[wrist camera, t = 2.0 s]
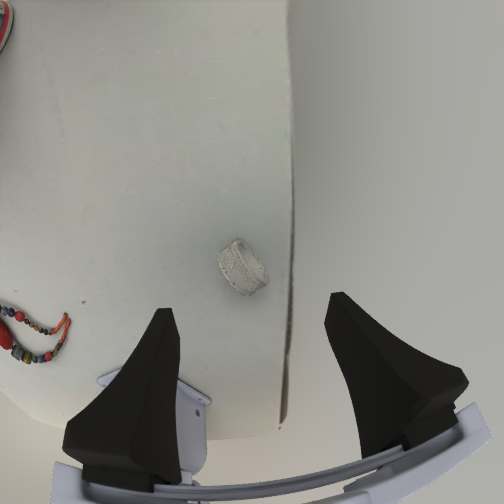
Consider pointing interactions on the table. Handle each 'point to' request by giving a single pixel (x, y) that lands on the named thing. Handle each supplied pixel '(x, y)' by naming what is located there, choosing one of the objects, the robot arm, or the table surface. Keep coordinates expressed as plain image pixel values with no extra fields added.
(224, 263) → the ring
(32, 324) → the necklace
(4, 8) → the pill bottle
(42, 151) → the table surface
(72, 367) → the table surface
